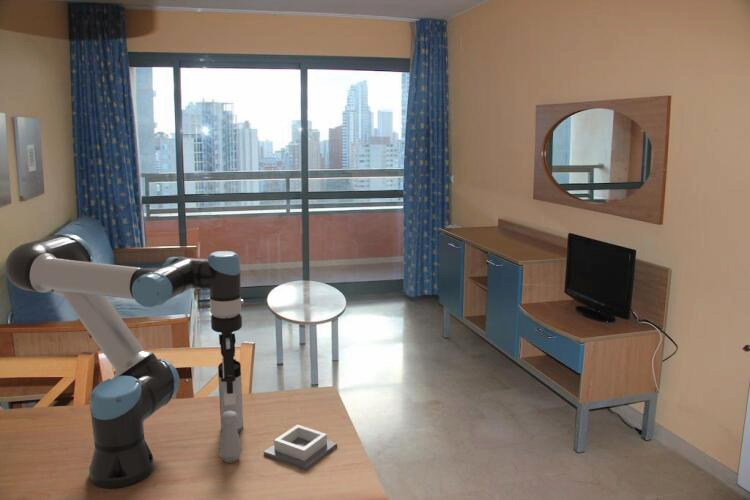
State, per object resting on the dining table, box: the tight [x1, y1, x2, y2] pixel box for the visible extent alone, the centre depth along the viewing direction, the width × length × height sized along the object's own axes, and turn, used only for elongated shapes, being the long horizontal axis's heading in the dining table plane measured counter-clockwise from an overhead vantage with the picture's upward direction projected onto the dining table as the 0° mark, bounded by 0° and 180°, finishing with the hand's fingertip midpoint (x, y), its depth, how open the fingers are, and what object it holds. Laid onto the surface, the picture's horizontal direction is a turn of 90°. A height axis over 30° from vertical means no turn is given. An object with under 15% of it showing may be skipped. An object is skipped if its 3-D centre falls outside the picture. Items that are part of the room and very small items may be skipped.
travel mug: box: [217, 358, 244, 433], centre depth 182 cm, size 6×7×20 cm
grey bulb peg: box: [218, 411, 243, 464], centre depth 167 cm, size 6×6×13 cm
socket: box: [263, 424, 338, 471], centre depth 172 cm, size 14×14×4 cm
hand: (229, 392), depth 165 cm, fingers open, 13 cm apart
